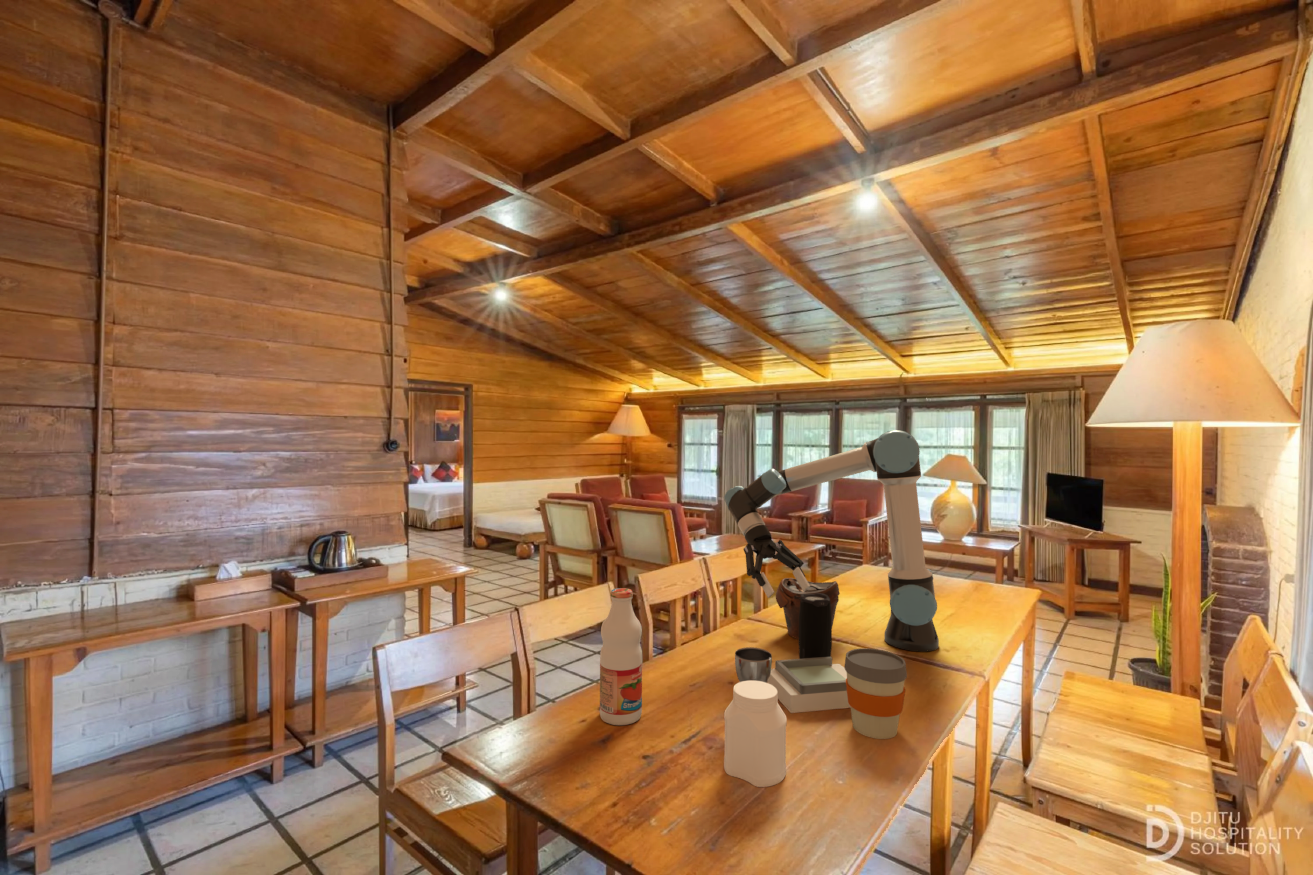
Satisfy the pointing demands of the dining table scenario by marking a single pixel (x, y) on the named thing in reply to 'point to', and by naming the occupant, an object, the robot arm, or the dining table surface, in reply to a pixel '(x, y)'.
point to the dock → (810, 684)
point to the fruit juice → (621, 662)
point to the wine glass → (753, 664)
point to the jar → (755, 734)
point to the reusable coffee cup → (875, 691)
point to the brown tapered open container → (790, 600)
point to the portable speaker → (815, 626)
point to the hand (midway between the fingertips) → (789, 591)
